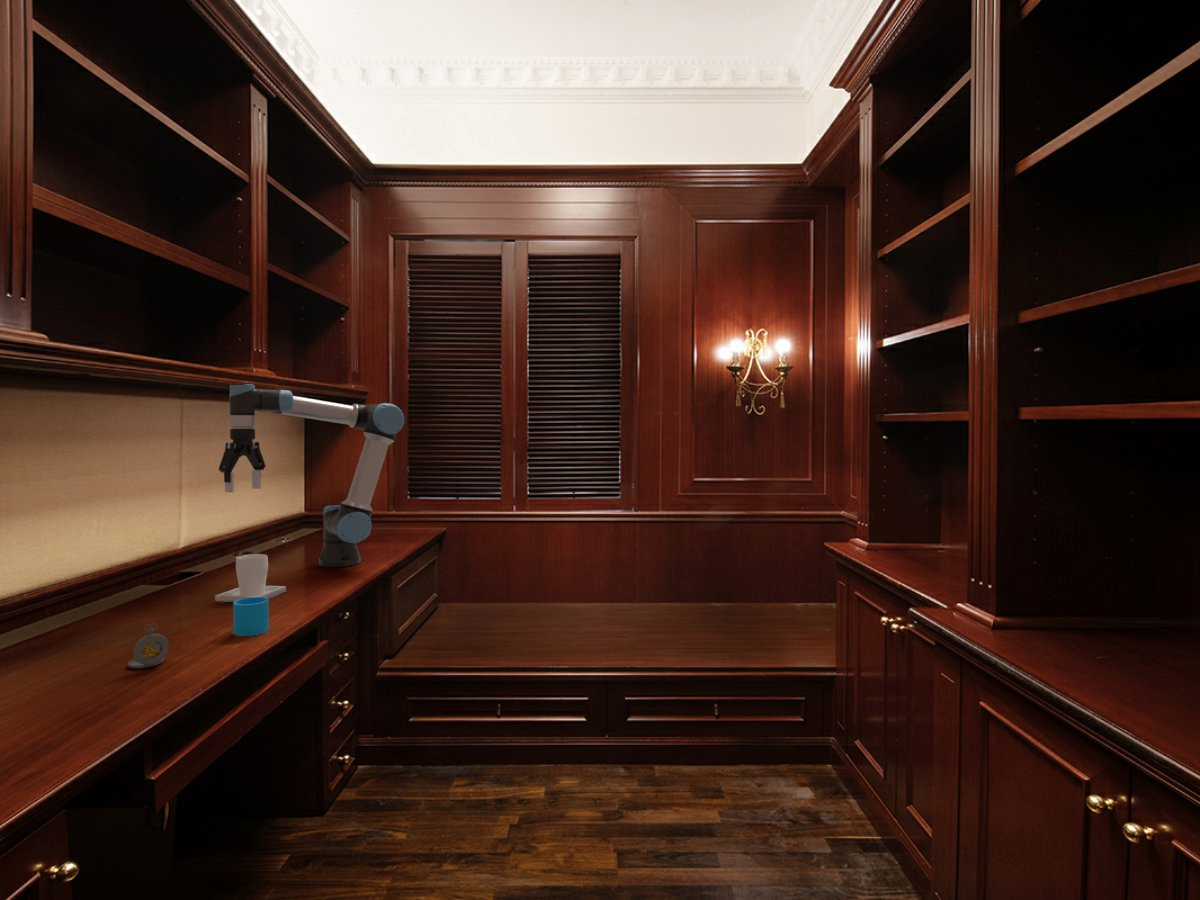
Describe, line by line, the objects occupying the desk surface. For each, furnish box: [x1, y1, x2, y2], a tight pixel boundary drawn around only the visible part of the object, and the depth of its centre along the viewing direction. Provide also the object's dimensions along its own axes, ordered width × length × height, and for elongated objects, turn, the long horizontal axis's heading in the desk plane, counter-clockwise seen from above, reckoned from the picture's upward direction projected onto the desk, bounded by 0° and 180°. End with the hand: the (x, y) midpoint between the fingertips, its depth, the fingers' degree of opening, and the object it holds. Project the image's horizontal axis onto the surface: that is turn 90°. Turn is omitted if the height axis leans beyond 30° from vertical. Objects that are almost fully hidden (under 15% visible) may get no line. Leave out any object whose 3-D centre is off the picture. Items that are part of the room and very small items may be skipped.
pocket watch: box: [127, 623, 170, 669], centre depth 146 cm, size 8×8×10 cm
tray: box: [214, 585, 287, 603], centre depth 206 cm, size 14×14×2 cm
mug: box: [232, 597, 270, 637], centre depth 173 cm, size 12×8×8 cm
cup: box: [235, 553, 269, 596], centre depth 206 cm, size 9×9×12 cm
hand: (243, 490), depth 224 cm, fingers open, 13 cm apart
